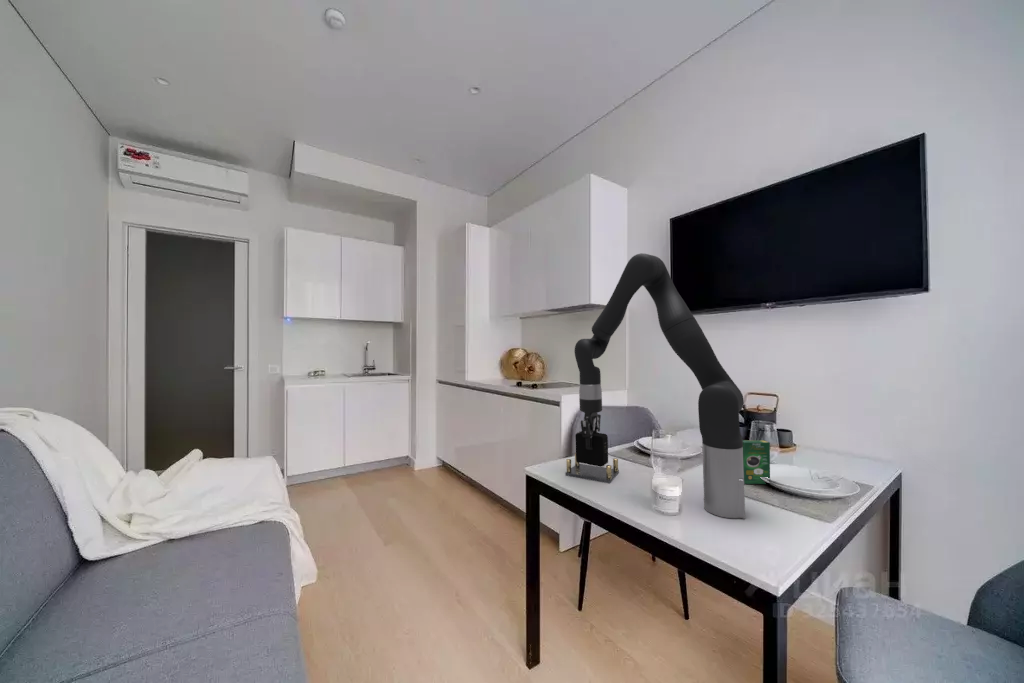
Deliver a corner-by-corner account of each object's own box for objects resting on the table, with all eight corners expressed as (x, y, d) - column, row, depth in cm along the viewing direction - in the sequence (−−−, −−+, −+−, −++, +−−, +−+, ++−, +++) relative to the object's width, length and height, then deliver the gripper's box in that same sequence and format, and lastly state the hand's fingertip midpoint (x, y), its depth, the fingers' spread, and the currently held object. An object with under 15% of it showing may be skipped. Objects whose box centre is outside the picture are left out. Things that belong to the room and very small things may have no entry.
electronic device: (603, 467, 120) (602, 436, 120) (575, 462, 126) (575, 432, 126) (608, 463, 123) (607, 434, 123) (581, 458, 129) (580, 430, 129)
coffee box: (765, 481, 115) (764, 439, 115) (771, 484, 112) (770, 441, 112) (739, 481, 115) (738, 439, 115) (744, 484, 112) (743, 441, 112)
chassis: (619, 472, 125) (619, 458, 125) (610, 483, 116) (609, 467, 116) (576, 465, 133) (576, 452, 133) (565, 475, 124) (564, 460, 124)
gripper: (594, 400, 116) (595, 454, 116) (607, 394, 129) (608, 443, 129) (572, 399, 120) (573, 451, 120) (587, 393, 133) (588, 441, 132)
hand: (591, 447), depth 124 cm, fingers closed on electronic device, 4 cm apart
